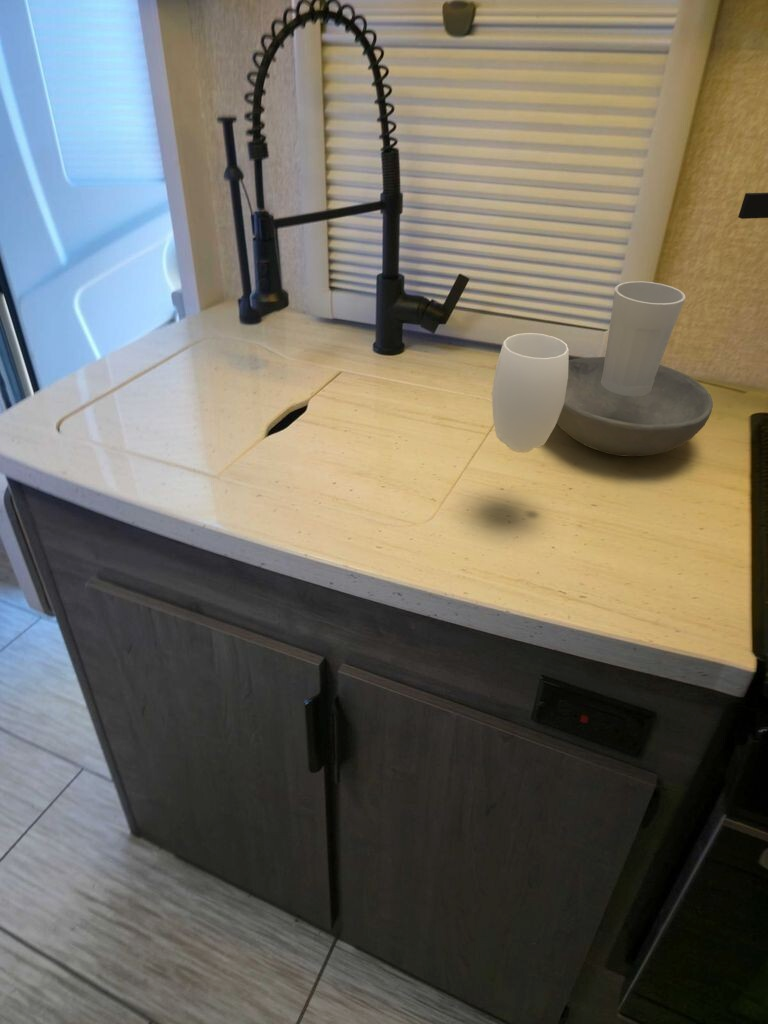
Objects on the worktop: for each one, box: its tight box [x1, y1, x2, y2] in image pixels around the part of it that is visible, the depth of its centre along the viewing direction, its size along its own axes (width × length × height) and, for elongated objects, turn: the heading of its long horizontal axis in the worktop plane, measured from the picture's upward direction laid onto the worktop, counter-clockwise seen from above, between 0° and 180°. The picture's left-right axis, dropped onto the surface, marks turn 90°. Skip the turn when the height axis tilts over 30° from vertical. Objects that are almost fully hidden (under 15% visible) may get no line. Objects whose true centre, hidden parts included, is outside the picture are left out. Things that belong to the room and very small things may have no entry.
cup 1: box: [491, 332, 570, 454], centre depth 70 cm, size 7×7×21 cm
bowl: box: [556, 356, 714, 457], centre depth 88 cm, size 21×21×8 cm
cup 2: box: [601, 280, 686, 396], centre depth 82 cm, size 8×8×12 cm
